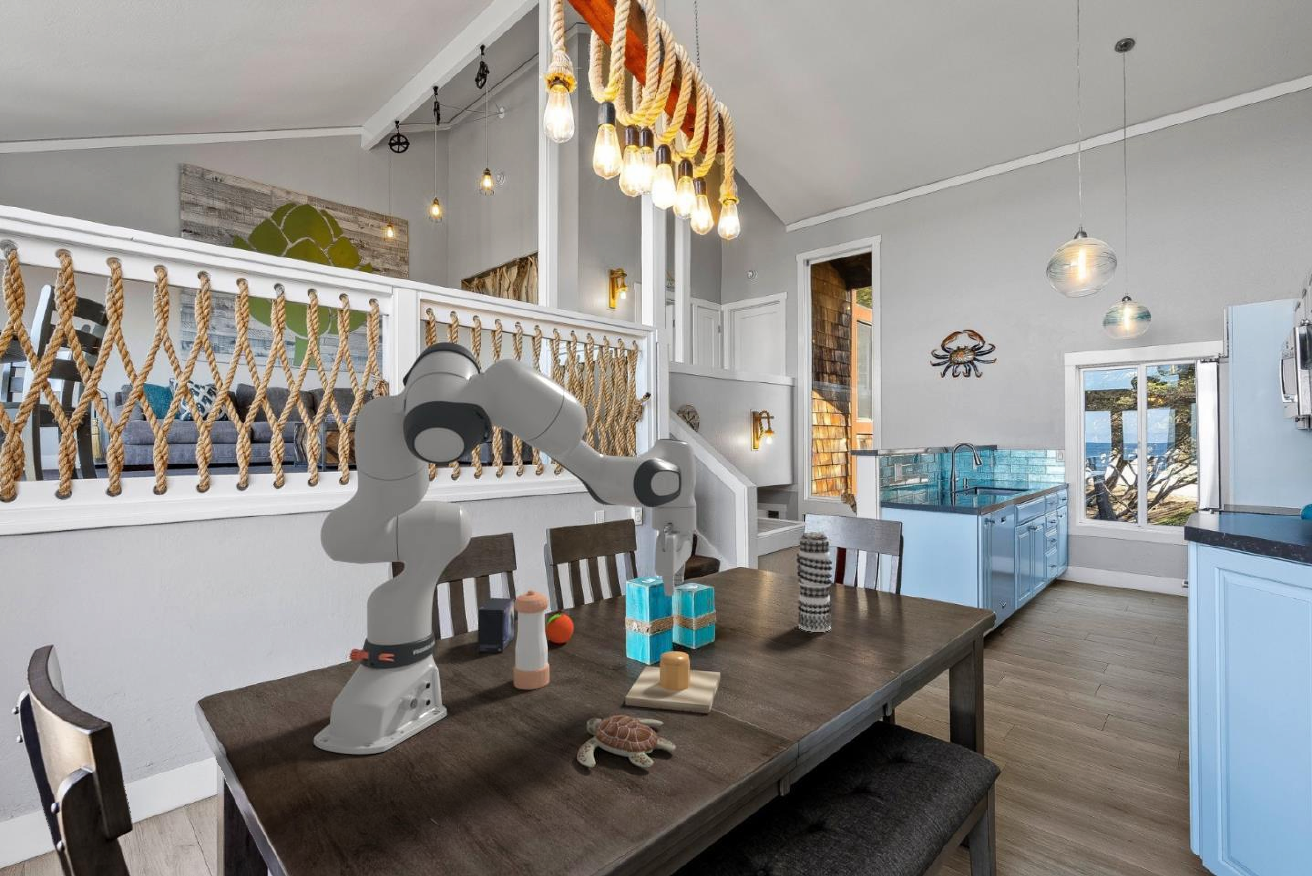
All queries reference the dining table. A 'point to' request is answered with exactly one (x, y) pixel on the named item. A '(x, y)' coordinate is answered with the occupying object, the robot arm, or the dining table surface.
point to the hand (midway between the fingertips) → (674, 589)
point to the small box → (495, 625)
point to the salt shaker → (531, 642)
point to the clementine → (559, 628)
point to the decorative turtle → (623, 739)
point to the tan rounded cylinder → (674, 670)
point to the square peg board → (674, 692)
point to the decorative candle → (814, 582)
